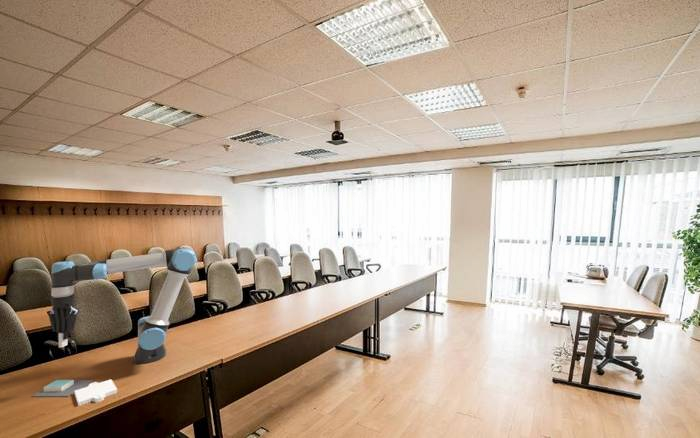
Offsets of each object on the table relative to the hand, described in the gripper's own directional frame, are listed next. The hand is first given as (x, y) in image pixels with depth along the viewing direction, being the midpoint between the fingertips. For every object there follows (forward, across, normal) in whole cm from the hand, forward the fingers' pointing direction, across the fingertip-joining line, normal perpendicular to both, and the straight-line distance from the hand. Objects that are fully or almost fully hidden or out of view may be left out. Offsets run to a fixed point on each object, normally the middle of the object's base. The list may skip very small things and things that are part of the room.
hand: (63, 346), depth 136 cm
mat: (+20, -1, 0) cm, 20 cm away
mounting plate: (+20, -19, +4) cm, 28 cm away
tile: (+18, -2, 0) cm, 18 cm away
